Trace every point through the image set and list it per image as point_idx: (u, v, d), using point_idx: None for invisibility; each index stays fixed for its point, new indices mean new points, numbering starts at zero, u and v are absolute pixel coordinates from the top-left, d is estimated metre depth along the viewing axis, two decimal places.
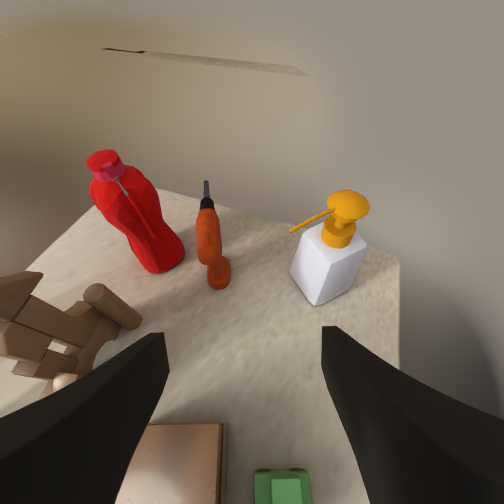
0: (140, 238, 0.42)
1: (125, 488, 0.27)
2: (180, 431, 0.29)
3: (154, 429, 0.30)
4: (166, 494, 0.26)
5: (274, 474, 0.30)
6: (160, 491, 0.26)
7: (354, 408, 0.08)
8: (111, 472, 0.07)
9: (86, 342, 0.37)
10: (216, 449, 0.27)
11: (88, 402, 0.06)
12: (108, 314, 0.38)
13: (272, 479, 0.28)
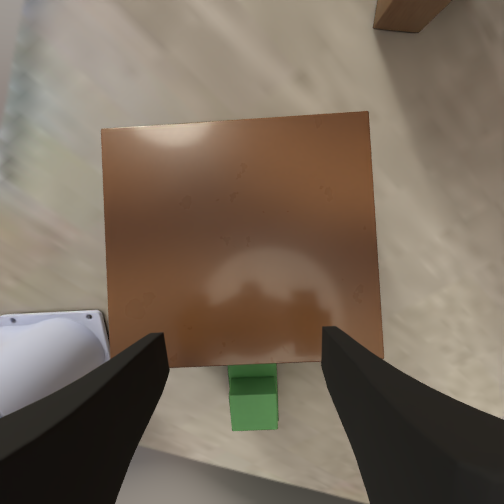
0: None
1: (260, 152, 0.13)
2: (364, 263, 0.13)
3: (365, 192, 0.13)
4: (260, 253, 0.13)
5: (276, 379, 0.20)
6: (263, 237, 0.13)
7: (354, 408, 0.08)
8: (111, 472, 0.07)
9: None
10: None
11: (88, 402, 0.06)
12: None
13: (275, 394, 0.18)
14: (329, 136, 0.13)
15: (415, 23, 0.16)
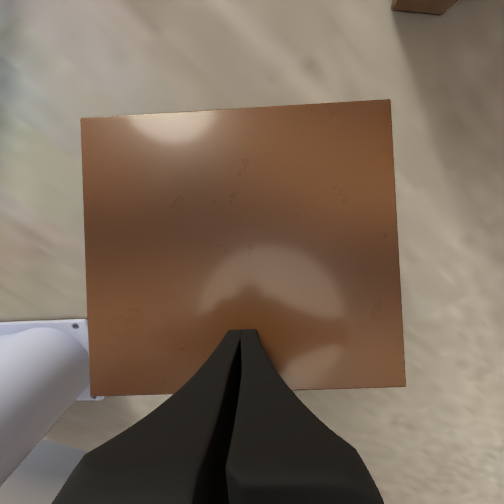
0: None
1: (264, 146, 0.11)
2: (384, 275, 0.11)
3: (385, 193, 0.11)
4: (263, 263, 0.11)
5: None
6: (267, 244, 0.11)
7: None
8: None
9: None
10: (352, 385, 0.11)
11: (223, 398, 0.06)
12: None
13: None
14: (344, 129, 0.11)
15: (440, 3, 0.14)
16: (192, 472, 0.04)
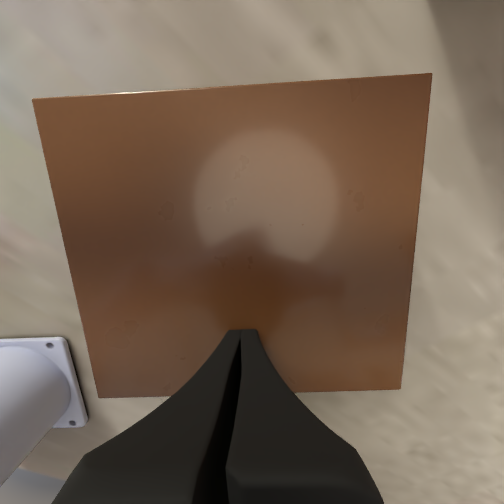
0: None
1: (268, 139, 0.09)
2: (394, 289, 0.10)
3: (408, 199, 0.09)
4: (265, 277, 0.10)
5: None
6: (269, 257, 0.10)
7: None
8: None
9: None
10: (349, 388, 0.11)
11: (223, 398, 0.06)
12: None
13: None
14: (369, 115, 0.09)
15: None
16: (192, 472, 0.04)
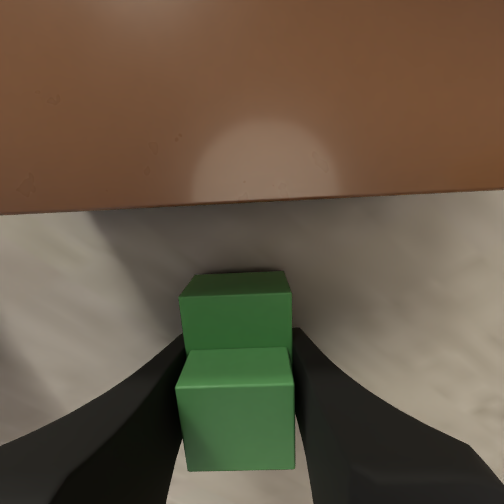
0: None
1: None
2: None
3: None
4: None
5: (290, 355, 0.09)
6: None
7: (304, 409, 0.08)
8: (162, 471, 0.07)
9: None
10: (457, 183, 0.05)
11: (146, 401, 0.06)
12: None
13: None
14: None
15: None
16: (65, 475, 0.04)
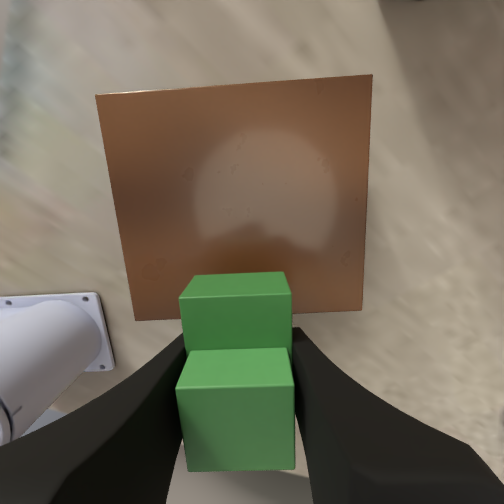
0: None
1: (260, 121, 0.13)
2: (353, 231, 0.14)
3: (360, 164, 0.13)
4: (259, 223, 0.14)
5: (290, 355, 0.09)
6: (262, 208, 0.14)
7: (304, 409, 0.08)
8: (163, 471, 0.07)
9: None
10: (323, 310, 0.15)
11: (146, 400, 0.06)
12: None
13: None
14: (330, 104, 0.13)
15: None
16: (65, 475, 0.04)
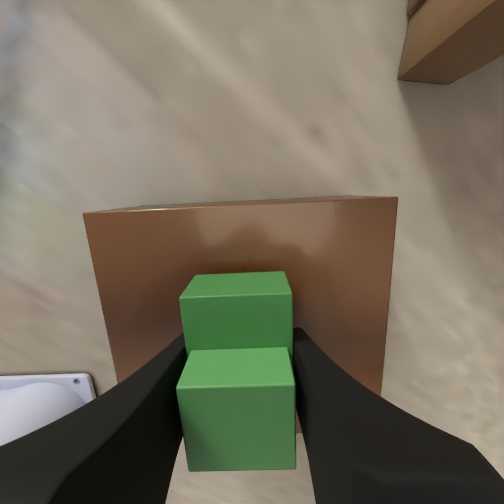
0: None
1: (269, 243, 0.11)
2: (371, 355, 0.13)
3: (381, 288, 0.12)
4: None
5: (291, 355, 0.09)
6: None
7: (306, 409, 0.08)
8: (162, 471, 0.07)
9: None
10: None
11: (146, 400, 0.06)
12: None
13: None
14: (349, 227, 0.11)
15: (447, 76, 0.14)
16: (64, 475, 0.04)
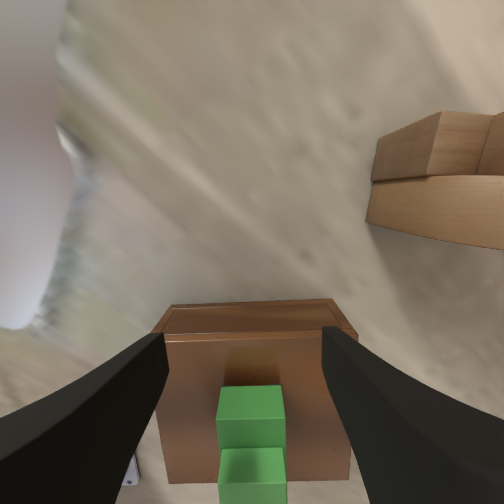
0: None
1: (271, 362, 0.16)
2: (342, 431, 0.18)
3: None
4: None
5: (285, 450, 0.14)
6: None
7: (354, 408, 0.08)
8: (111, 472, 0.07)
9: None
10: (318, 479, 0.19)
11: (88, 403, 0.06)
12: None
13: (285, 481, 0.12)
14: None
15: None
16: None
